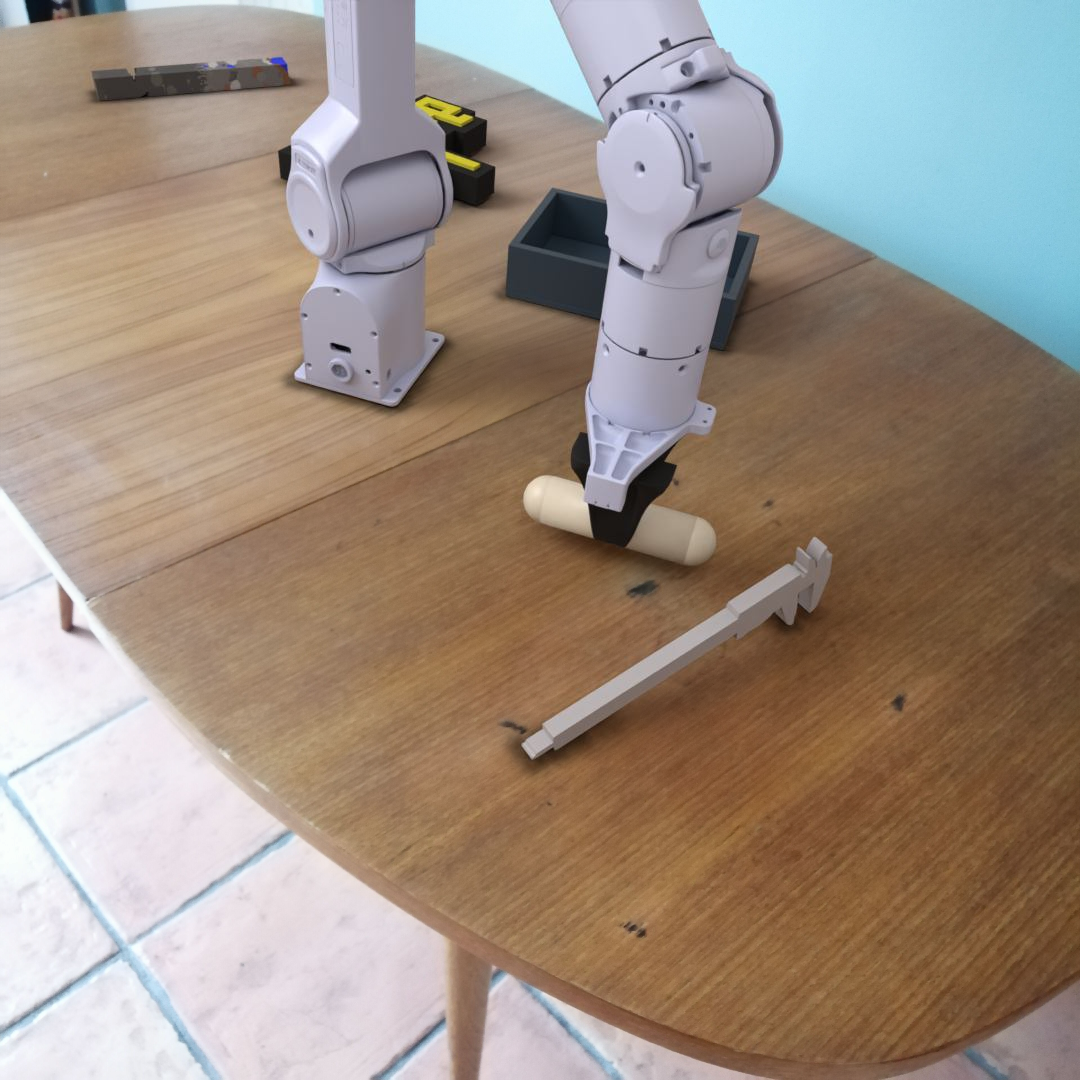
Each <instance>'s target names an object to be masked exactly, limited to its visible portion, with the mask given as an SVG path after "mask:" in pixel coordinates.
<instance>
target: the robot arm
mask: <svg viewBox="0 0 1080 1080" xmlns="http://www.w3.org/2000/svg"><path fill="white" fill-rule="evenodd" d="M549 2H550V4H551V6H552V9H553V11H554V13H555V16H556V18H557V20H558V22H559V24H560V27H561V29H562V31H563V33H564V35H565V38H566V40H567V42H568V45H569V46H570V49H571V51H572V53H573V56H574V58H575V60H576V62H577V65H578V67H579V69H580V71H581V73H582V76H583V78H584V80H585V83H586V84H587V87H588V89H589V91H590V93H591V95H592V97H593V100H594V102H595V105H596V107H597V109H598V111H599V114H600V115H601V118H602V120H603V123H604V124H605V126H606V129H607V131H608V133H607V135H606V137H604V139H603V140H602V139H599V140H598V141H597V142H596V167H597V174H598V179H599V183H600V186H601V189H602V192H603V194H604V197H605V200H606V202H607V209H608V216H607V224H606V231H605V234H606V235H607V236H608V237H609V241H608V244H609V247H610V249H611V254H610V261H609V268H608V274H607V281H606V288H605V294H604V301H603V308H602V314H601V320H600V321H599V327H598V336H597V342H596V348H595V354H594V361H593V367H592V375H591V380H590V381H589V383H588V384H587V387H586V389H585V396H584V409H585V410H584V412H585V421H586V429H587V432H584V431H580V432H579V433H578V435H577V436H576V439H575V442H574V443H573V445H572V447H571V451H570V467H571V469H572V471H573V472H574V474H575V475H576V476H577V478H578V480H579V483H581V484H582V486H583V488H584V491H585V492H584V498H583V501H584V502H586V503H588V508H589V516H590V524H591V530H592V534H593V538H594V539H593V538H592V539H593V540H595V541H598V542H599V541H600V542H601V543H602V542H603V543H605V544H609V545H612V546H616V547H620V548H624V547H626V546H627V545H628V544H629V542H630V541H631V539H632V537H633V535H634V533H635V531H636V529H637V527H638V524H639V522H640V520H641V518H642V516H643V514H644V512H645V510H646V509H647V507H648V506H649V505H650V504H653V502H654V501H655V500H656V499H657V498H659V497H660V496H663V494H664V493H665V492H666V491H667V489H668V488H669V487H670V485H671V483H672V481H673V479H674V476H675V474H676V470H677V468H678V464H676V463H671V462H667V461H666V460H667V458H668V456H669V455H670V453H671V452H672V451H673V449H674V448H675V447H676V445H677V444H678V443H679V442H680V441H681V440H682V439H683V438H684V436H686V435H688V434H695V435H699V436H707V435H709V434H710V433H711V431H712V428H713V425H714V422H715V419H716V415H717V409H716V408H715V406H713V405H712V404H709V403H706V402H702V401H701V400H699V399H698V397H699V396H698V395H699V391H700V388H701V383H702V378H703V374H704V371H705V367H706V362H707V360H708V359H707V358H708V355H709V350H710V348H711V347H710V342H711V338H712V335H713V331H714V326H715V322H716V318H717V314H718V310H719V306H720V302H721V298H722V293H723V289H724V285H725V281H726V277H727V273H728V269H729V265H730V261H731V256H732V252H733V248H734V244H735V240H736V236H737V232H738V230H739V227H740V223H741V219H742V215H743V209H742V208H741V207H738V208H735V207H737V206H741V205H743V204H745V203H747V202H749V201H750V200H752V199H754V198H755V197H757V196H759V195H761V194H762V193H763V192H764V191H766V189H768V188H769V187H770V185H771V184H772V182H773V181H774V179H775V178H776V175H778V172H779V169H780V165H781V163H782V159H783V154H784V153H783V151H784V131H783V124H782V120H781V117H780V114H779V110H778V108H777V102H776V101H777V100H776V96H775V94H774V92H773V91H772V89H771V88H770V86H769V85H768V84H767V83H766V82H765V81H764V80H763V79H762V78H760V77H759V76H758V75H757V74H755V73H753V72H751V71H750V70H747V69H745V68H742V67H741V66H740V65H739V64H738V63H737V62H736V60H735V58H734V56H733V55H732V51H726V49H725V48H724V47H720V46H719V45H718V43H717V40H716V38H715V36H714V34H713V32H712V30H711V27H710V25H709V23H708V20H707V18H706V16H705V13H704V10H703V9H702V6H701V4H700V2H699V0H549ZM323 13H324V14H323V15H324V17H323V19H324V34H325V51H326V53H325V54H326V70H327V87H328V88H327V89H328V95H327V97H326V98H325V100H324V101H323V102H322V103H321V104H320V105H319V106H318V108H316V110H314V112H312V113H311V115H310V116H308V117H307V118H306V120H305V121H304V122H303V123H302V124H300V126H299V127H298V128H297V129H296V130H295V132H293V134H292V135H291V137H290V145H291V149H292V150H291V171H290V174H289V178H288V181H286V182H287V184H286V189H285V197H286V198H285V199H286V200H285V201H286V206H287V211H288V212H287V213H288V215H289V218H290V221H291V224H292V227H293V229H294V231H295V233H296V235H297V237H298V239H299V240H300V242H301V244H302V245H303V246H304V247H305V249H306V250H308V251H309V253H311V254H312V255H313V256H315V258H317V259H318V260H319V261H318V267H317V272H316V275H315V277H314V279H313V281H312V284H311V285H310V286H309V288H308V290H307V291H306V292H305V293H304V295H303V297H302V299H301V302H300V306H299V319H300V321H299V322H300V330H301V331H300V332H301V340H302V341H301V342H302V351H303V353H302V354H303V362H302V364H301V365H300V366H299V367H298V368H297V369H296V370H295V371H294V379H295V380H296V381H298V382H301V383H305V384H308V385H312V386H315V387H317V388H323V389H326V390H329V391H333V392H336V393H340V394H344V395H349V396H351V397H355V398H359V399H362V400H365V401H370V402H374V403H377V404H381V405H384V406H387V407H396V406H398V405H399V404H400V402H401V401H402V399H403V398H404V397H405V396H406V394H407V393H408V391H410V389H411V388H412V386H413V385H414V383H415V382H416V381H417V380H418V379H419V377H420V375H421V374H422V373H423V372H424V370H425V369H426V368H427V366H428V365H429V364H430V362H431V361H432V360H433V358H434V357H435V355H437V353H438V351H440V349H441V348H442V346H443V344H444V343H445V340H446V339H445V338H446V337H445V335H443V334H442V333H438V332H434V331H430V330H428V329H427V330H426V275H427V274H426V273H427V272H426V267H427V266H426V262H427V261H426V258H427V257H426V256H427V255H426V252H427V250H428V249H429V248H431V247H434V246H435V243H436V242H435V241H436V230H438V229H441V228H442V227H444V226H445V225H446V224H447V222H448V221H449V219H450V218H451V217H450V216H451V214H452V210H453V204H454V203H453V201H454V197H453V185H452V179H451V175H450V172H449V169H448V165H447V160H446V154H445V132H444V131H443V130H442V128H441V127H440V126H439V125H438V123H437V122H436V121H435V120H434V119H433V118H432V117H430V116H429V115H428V114H427V113H426V112H424V111H423V110H421V109H420V108H418V107H417V106H416V105H415V99H416V0H323ZM624 549H625V548H624Z"/></svg>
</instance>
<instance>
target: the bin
mask: <svg viewBox="0 0 1080 1080" xmlns="http://www.w3.org/2000/svg"><path fill="white" fill-rule="evenodd" d="M607 216H608V209H607V202H606V199H603V198H600V197H595V196H591V195H587V194H582V193H578V192H574V191H570V190H565V189H562V188H561V189H560V188H556V187H551V189H550V190H549V191H548V192H547V194H546V195H545V196H544V198H543V199H542V201H540V203H539V204H538V205H537V207H535V210H534V211H533V212H532V213H531V215H530V216H529V218H528V219H527V220H526V221H525V223H524V224H523V225H522V227H521V228H520V229H519V231H518V232H517V233H516V235H515V236H514V237H513V239H512V240H511V241H510V243H509V244H508V246H507V247H508V248H507V260H506V263H507V264H506V276H505V278H506V279H505V292H504V296H506V297H509V298H513V299H516V300H521V301H525V302H529V303H532V304H536V305H540V306H545V307H548V308H553V309H556V310H560V311H564V312H569V313H572V314H577V315H581V316H583V317H584V316H585V317H588V318H592V319H596V320H600V321H601V314H602V308H603V301H604V294H605V288H606V281H607V274H608V268H609V261H610V254H611V249H610V247H609V244H608V241H609V237H608V236H607V235H606V234H605V231H606V224H607ZM759 239H760V234H757V233H756V234H755V233H753V232H748V231H743V230H739V229H738V232H737V236H736V240H735V244H734V248H733V252H732V256H731V261H730V265H729V269H728V273H727V277H726V281H725V285H724V289H723V293H722V298H721V302H720V306H719V310H718V314H717V318H716V322H715V326H714V331H713V335H712V338H711V342H710V347H709V348H712V349H715V350H719V351H724V350H725V347H726V344H727V341H728V338H729V336H730V333H731V330H732V327H733V324H734V321H735V318H736V316H737V313H738V310H739V308H740V304H741V302H742V299H743V297H744V294H745V291H746V289H747V286H748V284H749V283H748V282H749V279H750V275H751V272H752V266H753V263H754V259H755V254H756V251H757V248H758V244H759Z"/></svg>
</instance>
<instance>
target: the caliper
mask: <svg viewBox="0 0 1080 1080" xmlns="http://www.w3.org/2000/svg"><path fill="white" fill-rule="evenodd" d="M832 563H833V554H832V553H831V552H830V551H829V550H828V546H827V545H826V544H824V543H823V542H822V541H821V540H820V539H819V538H818V537H816V536H813V538H812V539H811V540H810V541H809V543H808V545H807V547H806V549H805V550H804V549H802V548H801V547H800V546H797V548H796V552H795V561H794V562H793V564H790V563H786V564H785V565H783V566H781V567H780V568H779V569H777V570H776V571H774V572H772V573H771V574H769V575H768V576H766V577H765V578H763V579H761V580H759V581H758V582H757V583H755V584H754V585H752V586H750V587H749V588H748V589H746V590H744V591H743V592H741V593H739V594H738V595H737V596H735V597H734V598H732V599H731V600H729V601H728V602H727V603H726V605H725V607H724V608H723V609H721V610H720V611H718V612H716V613H715V614H713V615H711V616H710V617H708V618H707V619H706V620H703V621H702V622H701V623H699V624H697V625H696V626H694V627H693V628H691V629H689V630H688V631H686V632H684V634H682V635H680V636H679V637H677V638H675V639H673V640H672V641H670V642H669V643H668V644H666V645H663V647H661V648H659V649H658V650H656V651H655V652H653V653H652V654H650V655H648V656H647V657H645V658H644V659H642V660H641V661H639V662H637V663H636V664H634V665H633V666H631V667H629V668H627V669H626V670H624V671H623V672H622V673H620V674H618V675H617V676H616V677H613V678H612V679H611V680H608V681H607V682H606V683H604V684H602V685H601V686H599V687H597V688H596V689H595V690H593V691H592V692H590V693H588V694H587V695H585V696H583V697H582V698H581V699H579V700H577V701H576V702H574V703H573V704H571V705H570V706H567V707H566V708H565V709H562V711H560V712H559V713H557V714H555V715H553V716H552V717H550V718H549V719H548V720H546V721H544V722H543V723H542V729H540V730H538V731H537V732H535V733H534V734H532V735H531V736H529V737H528V738H526V739H525V741H524V742H522V743H521V747H522V748H523V750H524V751H525V752H526V754H527V755H528V757H529V758H530V759H531V760H535V759H537V758H539V757H540V756H542V755H544V754H545V753H546V752H548V751H550V750H551V749H553V750H554V751H557V750H560V749H561V748H563V747H564V746H565V745H567V744H568V743H570V742H571V741H573V740H575V739H576V738H577V737H579V736H580V735H582V734H584V733H585V732H587V731H588V730H590V729H592V728H593V727H595V726H596V725H597V724H599V723H601V722H602V721H604V720H605V719H606V718H609V717H610V716H611V715H613V714H614V713H616V712H617V711H619V710H620V709H622V708H624V707H625V706H627V705H628V704H630V703H631V702H632V701H634V700H636V699H638V698H639V697H640V696H642V695H643V694H645V693H646V692H648V691H649V690H652V689H653V688H654V687H656V686H657V685H659V684H660V683H662V682H663V681H665V680H667V679H669V678H670V677H671V676H673V675H674V674H676V673H678V672H679V671H681V670H682V669H684V668H685V667H687V666H688V665H690V664H692V663H693V662H695V661H696V660H698V659H699V658H701V657H703V656H704V655H705V654H707V653H708V652H711V650H713V649H715V648H716V647H719V645H721V644H722V643H725V642H726V641H728V640H729V639H731V638H732V637H734V639H736V640H740V639H741V638H743V637H744V636H745V635H746V634H748V633H749V632H750V631H752V630H754V629H756V628H758V627H759V626H761V625H762V624H763V623H765V621H767V620H768V619H770V617H772V616H773V615H772V614H773V613H775V614H776V615H777V617H779V618H780V619H781V620H782V621H783V622H784V623H785V624H786V625H787V626H788V625H789V626H792V625H794V622H795V617H796V614H797V611H798V610H797V609H798V604H799V605H800V606H801V607H802V608H803V609H804V610H805V611H807V612H808V613H809V614H811V613H812V611H814V610H815V608H817V607H818V604H819V602H820V600H821V597H822V595H823V593H824V590H825V588H826V585H827V582H828V580H829V578H830V576H831V569H832Z"/></svg>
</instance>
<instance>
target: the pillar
mask: <svg viewBox="0 0 1080 1080" xmlns="http://www.w3.org/2000/svg"><path fill="white" fill-rule="evenodd" d="M133 70H134V75H131V73H130V72H129V71H128V69H127V68H125V67H124V68H112V69H100V70H90V71H91V72H90V73H91V77H92V80H93V85H94V90H95V95H96V96H97V100H98V101H112V100H125V99H136V98H142V97H143V96H147V97H160V96H171V95H172V96H173V95H183V94H196V93H197V94H198V93H207V92H208V93H209V92H219V91H220V92H221V91H231V90H232V91H233V90H243V89H244V90H245V89H254V88H267V87H268V88H269V87H279V86H291V85H292V83H291V82H292V79H291V77H290V76H289V68H288V63H287V62H286V61H285V59H284V58H283V56H278V57H277V56H276V57H262V58H261V57H260V58H250V59H235V60H221V61H209V62H207V61H206V62H197V63H195V62H194V63H181V64H169V65H168V64H166V65H154V66H153V65H152V66H141V67H140V66H139V67H133Z"/></svg>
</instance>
